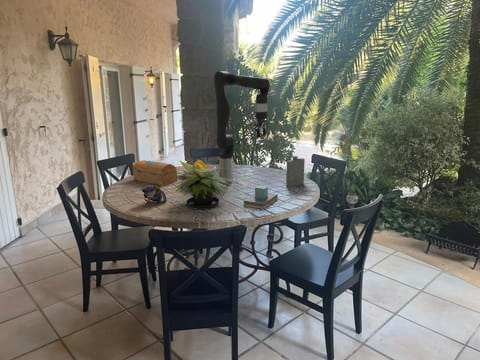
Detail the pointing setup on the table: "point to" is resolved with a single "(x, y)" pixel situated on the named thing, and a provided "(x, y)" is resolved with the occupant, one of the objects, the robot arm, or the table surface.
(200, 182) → the fern plant
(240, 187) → the table surface
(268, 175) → the table surface
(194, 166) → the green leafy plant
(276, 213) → the table surface
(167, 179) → the wooden box
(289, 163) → the hip flask
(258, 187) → the plug
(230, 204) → the table surface
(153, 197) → the dark grey rounded piece
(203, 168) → the fruit bowl
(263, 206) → the block
